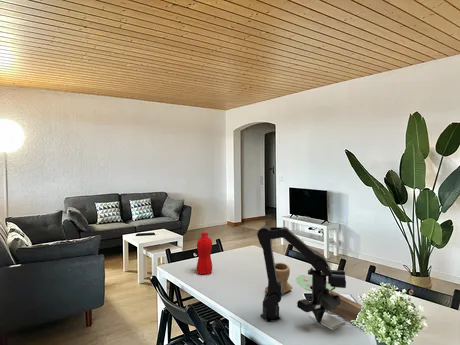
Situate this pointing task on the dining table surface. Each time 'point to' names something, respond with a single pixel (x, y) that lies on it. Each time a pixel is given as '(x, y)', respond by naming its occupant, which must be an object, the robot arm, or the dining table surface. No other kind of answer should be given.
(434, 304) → the dining table surface
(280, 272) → the stone cup
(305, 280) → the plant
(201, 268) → the water bottle
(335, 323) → the hard drive
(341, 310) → the walnut board
